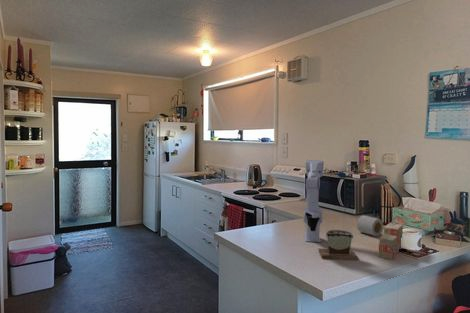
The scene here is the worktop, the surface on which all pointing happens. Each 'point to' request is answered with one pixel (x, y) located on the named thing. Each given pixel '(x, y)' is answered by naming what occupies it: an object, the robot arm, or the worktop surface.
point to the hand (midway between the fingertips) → (311, 228)
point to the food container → (339, 242)
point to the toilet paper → (370, 225)
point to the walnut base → (326, 255)
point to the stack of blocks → (390, 241)
